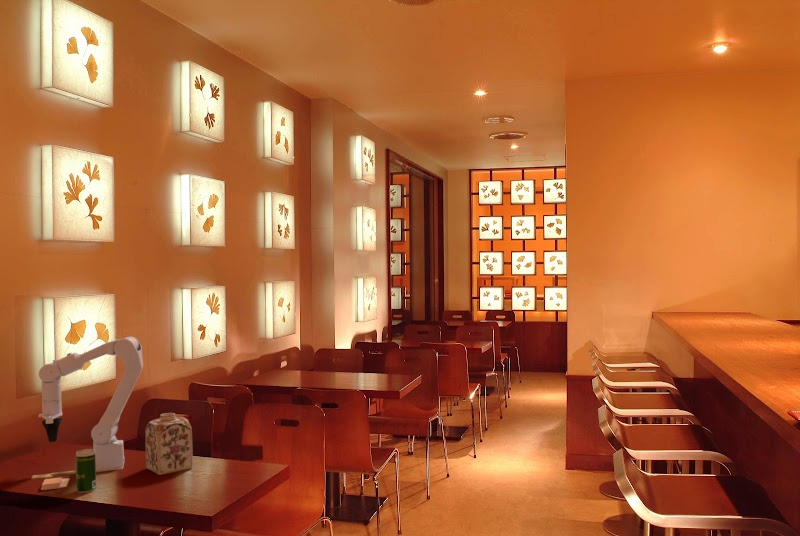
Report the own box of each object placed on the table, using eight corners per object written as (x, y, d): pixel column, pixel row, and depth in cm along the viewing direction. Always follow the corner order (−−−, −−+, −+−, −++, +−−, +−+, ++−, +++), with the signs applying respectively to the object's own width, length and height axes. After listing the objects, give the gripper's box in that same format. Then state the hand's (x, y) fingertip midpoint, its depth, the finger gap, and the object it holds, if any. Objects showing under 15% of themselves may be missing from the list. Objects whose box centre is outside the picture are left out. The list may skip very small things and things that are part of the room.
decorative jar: (158, 476, 228) (156, 419, 228) (145, 468, 237) (143, 414, 237) (194, 468, 236) (192, 413, 235) (180, 461, 245) (178, 408, 244)
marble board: (69, 478, 227) (69, 478, 227) (66, 487, 218) (66, 486, 218) (45, 481, 225) (45, 480, 225) (40, 490, 216) (40, 489, 216)
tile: (44, 479, 220) (42, 484, 215) (62, 477, 222) (59, 482, 216) (45, 484, 220) (42, 490, 215) (62, 482, 222) (59, 488, 216)
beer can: (98, 488, 217) (97, 448, 217) (93, 493, 211) (91, 452, 211) (80, 489, 216) (79, 449, 216) (74, 494, 211) (72, 453, 211)
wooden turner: (75, 472, 234) (75, 469, 234) (74, 475, 231) (74, 472, 231) (33, 477, 230) (33, 474, 230) (31, 480, 227) (31, 477, 227)
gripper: (41, 397, 242) (42, 437, 242) (34, 404, 228) (35, 447, 228) (64, 395, 244) (65, 435, 244) (59, 403, 230) (60, 445, 230)
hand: (52, 441), depth 236 cm, fingers closed
